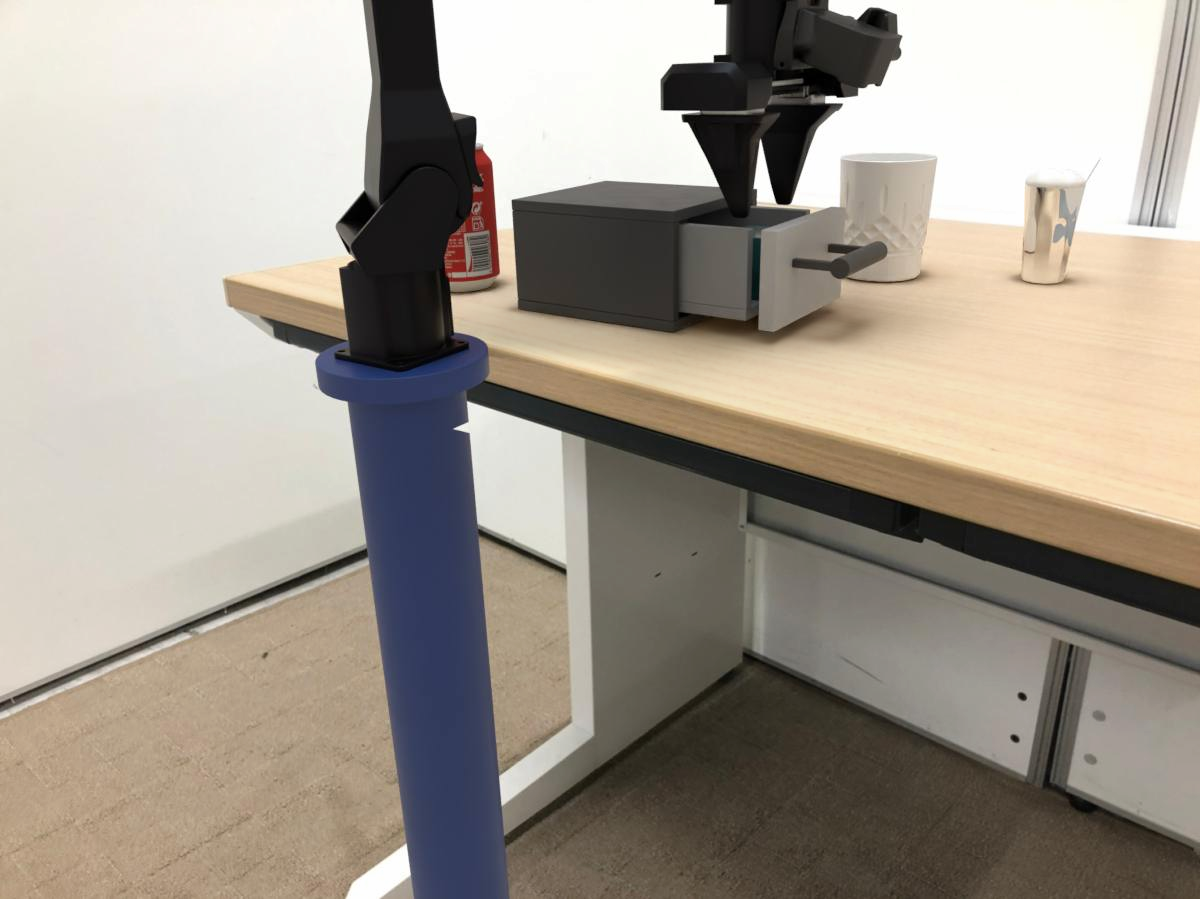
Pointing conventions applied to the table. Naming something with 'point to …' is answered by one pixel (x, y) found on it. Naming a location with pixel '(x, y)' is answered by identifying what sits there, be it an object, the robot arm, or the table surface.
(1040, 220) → the milkshake
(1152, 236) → the table surface
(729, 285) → the drawer
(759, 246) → the block
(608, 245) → the cabinet
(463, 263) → the beverage can
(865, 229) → the white cup
